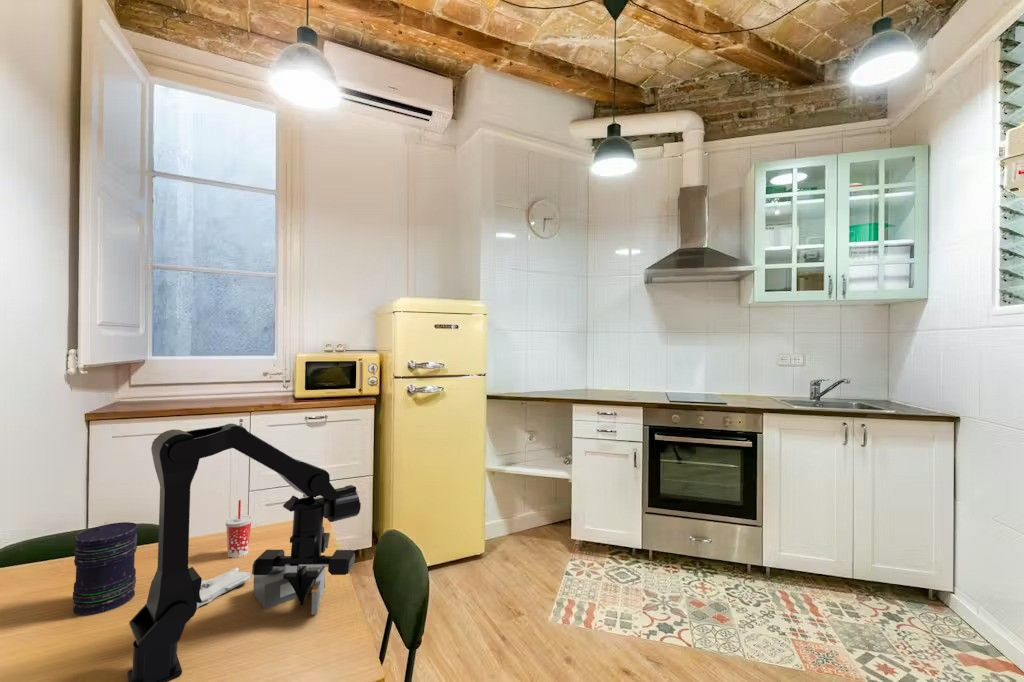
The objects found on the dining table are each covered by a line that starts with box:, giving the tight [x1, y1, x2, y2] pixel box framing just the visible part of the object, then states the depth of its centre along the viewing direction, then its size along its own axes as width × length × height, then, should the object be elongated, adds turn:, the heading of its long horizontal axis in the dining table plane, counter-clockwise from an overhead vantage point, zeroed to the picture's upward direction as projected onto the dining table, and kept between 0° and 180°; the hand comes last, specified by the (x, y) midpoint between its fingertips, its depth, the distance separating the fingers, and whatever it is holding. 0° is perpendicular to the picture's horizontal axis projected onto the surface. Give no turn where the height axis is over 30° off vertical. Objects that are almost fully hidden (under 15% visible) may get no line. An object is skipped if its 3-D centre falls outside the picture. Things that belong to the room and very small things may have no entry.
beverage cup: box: [224, 499, 254, 558], centre depth 116 cm, size 6×6×14 cm
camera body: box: [253, 567, 317, 610], centre depth 98 cm, size 8×12×6 cm
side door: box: [311, 567, 326, 615], centre depth 94 cm, size 1×11×5 cm, turn 15°
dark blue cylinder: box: [72, 521, 138, 617], centre depth 93 cm, size 10×10×15 cm
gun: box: [197, 567, 253, 609], centre depth 96 cm, size 18×4×10 cm
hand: (302, 603), depth 91 cm, fingers closed
